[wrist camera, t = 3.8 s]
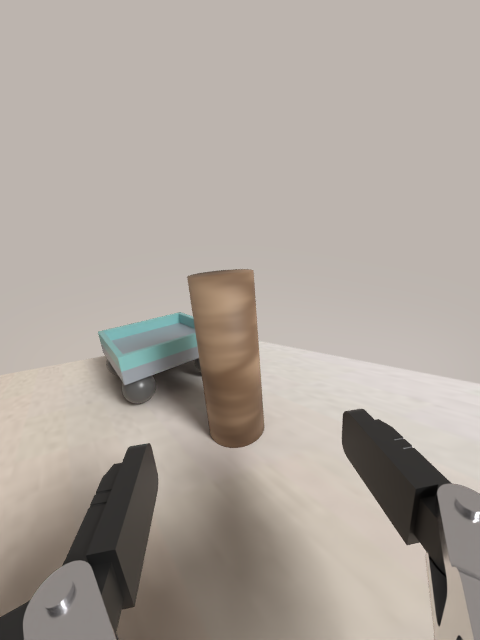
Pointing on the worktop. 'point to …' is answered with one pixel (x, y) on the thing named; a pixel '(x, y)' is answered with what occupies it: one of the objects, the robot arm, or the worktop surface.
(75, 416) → the worktop surface
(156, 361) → the wheeled cart
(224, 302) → the cylinder
